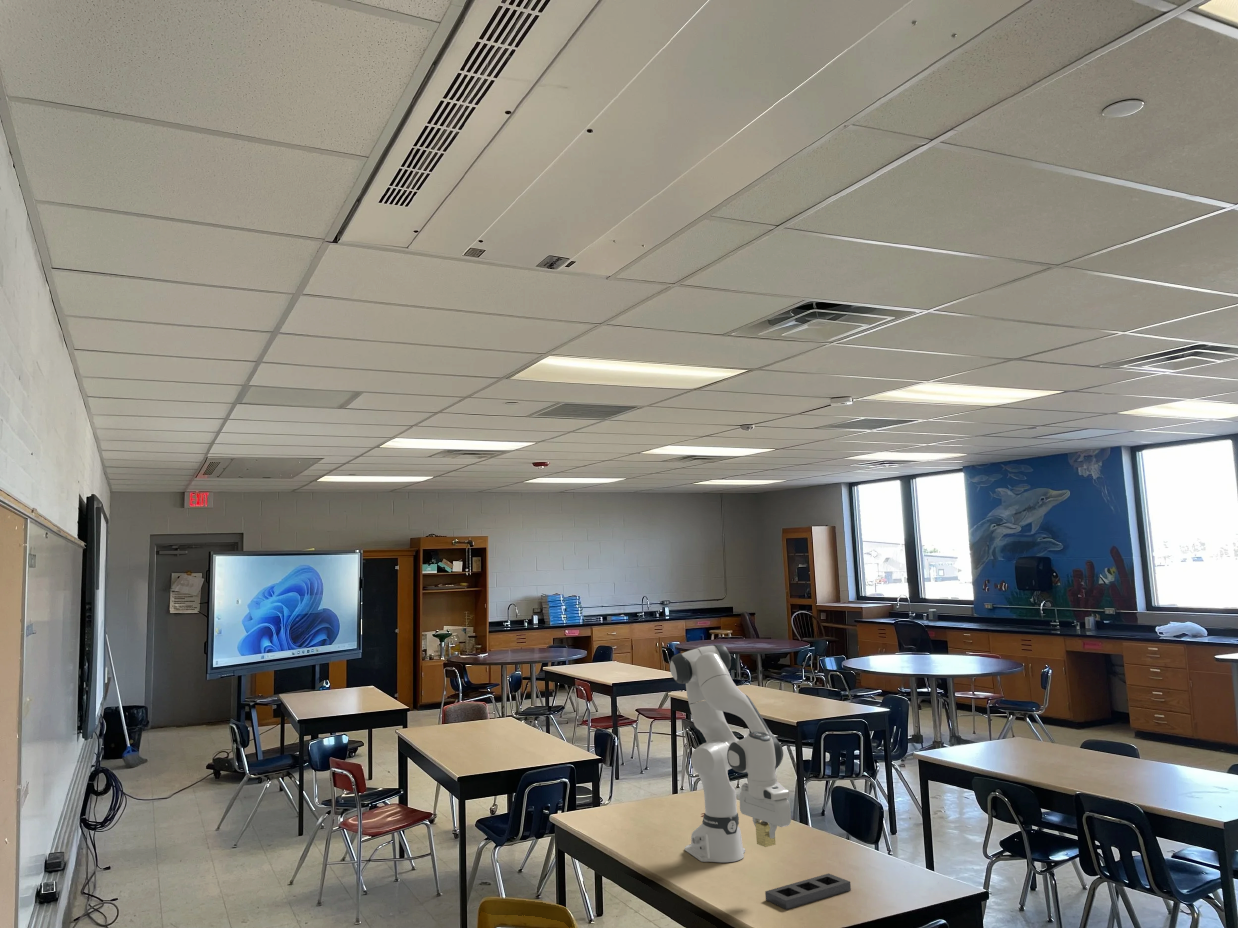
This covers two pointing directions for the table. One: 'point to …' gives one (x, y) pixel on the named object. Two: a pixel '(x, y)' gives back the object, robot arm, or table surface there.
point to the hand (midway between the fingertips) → (765, 835)
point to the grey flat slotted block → (807, 891)
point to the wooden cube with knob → (763, 834)
